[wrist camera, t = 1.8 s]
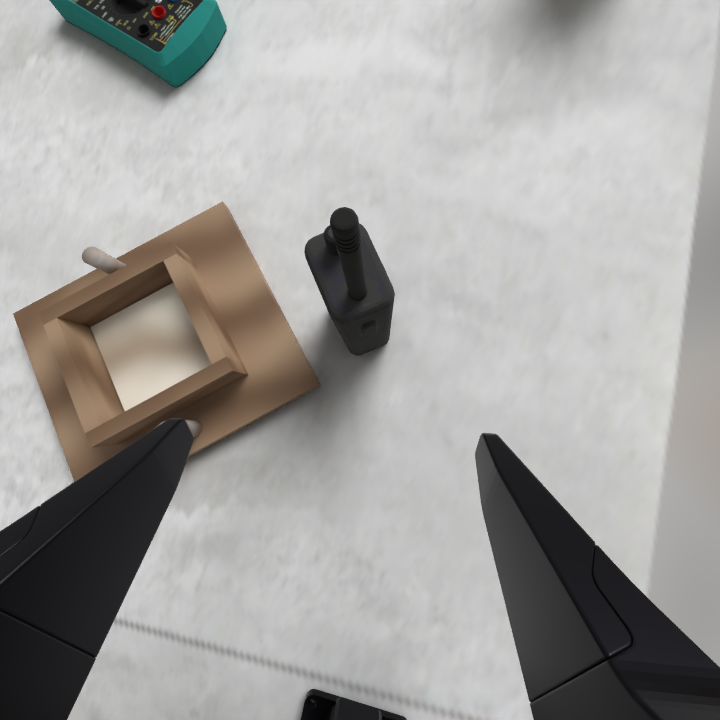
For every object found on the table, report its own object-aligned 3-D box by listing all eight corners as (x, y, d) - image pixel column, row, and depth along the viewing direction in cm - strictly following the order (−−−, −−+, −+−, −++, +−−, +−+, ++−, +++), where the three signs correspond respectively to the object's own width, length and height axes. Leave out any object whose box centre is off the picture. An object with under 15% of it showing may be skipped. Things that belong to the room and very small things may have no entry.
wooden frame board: (320, 385, 23) (308, 381, 19) (98, 507, 23) (40, 527, 19) (228, 209, 26) (201, 173, 22) (27, 317, 26) (-37, 300, 22)
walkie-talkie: (329, 303, 24) (248, 140, 9) (370, 285, 24) (355, 94, 9) (354, 361, 24) (309, 284, 9) (397, 343, 24) (424, 234, 9)
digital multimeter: (185, 97, 28) (162, 61, 25) (66, 24, 30) (33, -16, 27) (236, 36, 29) (220, -6, 26) (117, -31, 31) (90, -77, 28)
